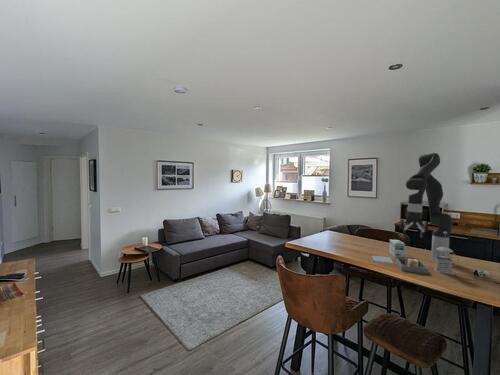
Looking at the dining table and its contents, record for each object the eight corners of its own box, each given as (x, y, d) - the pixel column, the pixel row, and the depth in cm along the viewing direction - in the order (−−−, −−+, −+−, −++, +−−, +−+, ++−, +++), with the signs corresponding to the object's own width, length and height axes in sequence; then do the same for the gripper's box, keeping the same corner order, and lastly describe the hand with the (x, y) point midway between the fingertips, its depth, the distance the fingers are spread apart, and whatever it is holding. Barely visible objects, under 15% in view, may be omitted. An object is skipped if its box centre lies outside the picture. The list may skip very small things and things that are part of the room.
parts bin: (419, 265, 154) (420, 260, 154) (428, 274, 140) (428, 268, 140) (395, 262, 159) (396, 257, 159) (401, 271, 145) (401, 265, 145)
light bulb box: (404, 258, 169) (405, 243, 168) (394, 257, 170) (394, 242, 170) (398, 253, 179) (399, 239, 179) (388, 253, 181) (389, 239, 180)
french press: (433, 267, 151) (435, 229, 150) (457, 272, 144) (459, 231, 143) (432, 272, 144) (434, 231, 143) (458, 277, 136) (460, 234, 135)
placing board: (390, 258, 168) (390, 257, 168) (393, 263, 157) (393, 263, 157) (371, 256, 173) (371, 255, 173) (373, 261, 162) (373, 260, 162)
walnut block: (412, 265, 154) (413, 256, 154) (414, 267, 150) (415, 258, 150) (404, 264, 156) (404, 255, 155) (406, 266, 151) (406, 257, 151)
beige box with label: (415, 268, 148) (416, 259, 147) (417, 271, 143) (418, 261, 143) (407, 267, 149) (407, 258, 149) (409, 270, 145) (409, 260, 145)
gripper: (426, 211, 146) (425, 237, 147) (400, 209, 152) (398, 234, 153) (430, 212, 140) (428, 239, 140) (402, 210, 145) (400, 236, 146)
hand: (413, 237), depth 146 cm, fingers open, 8 cm apart
